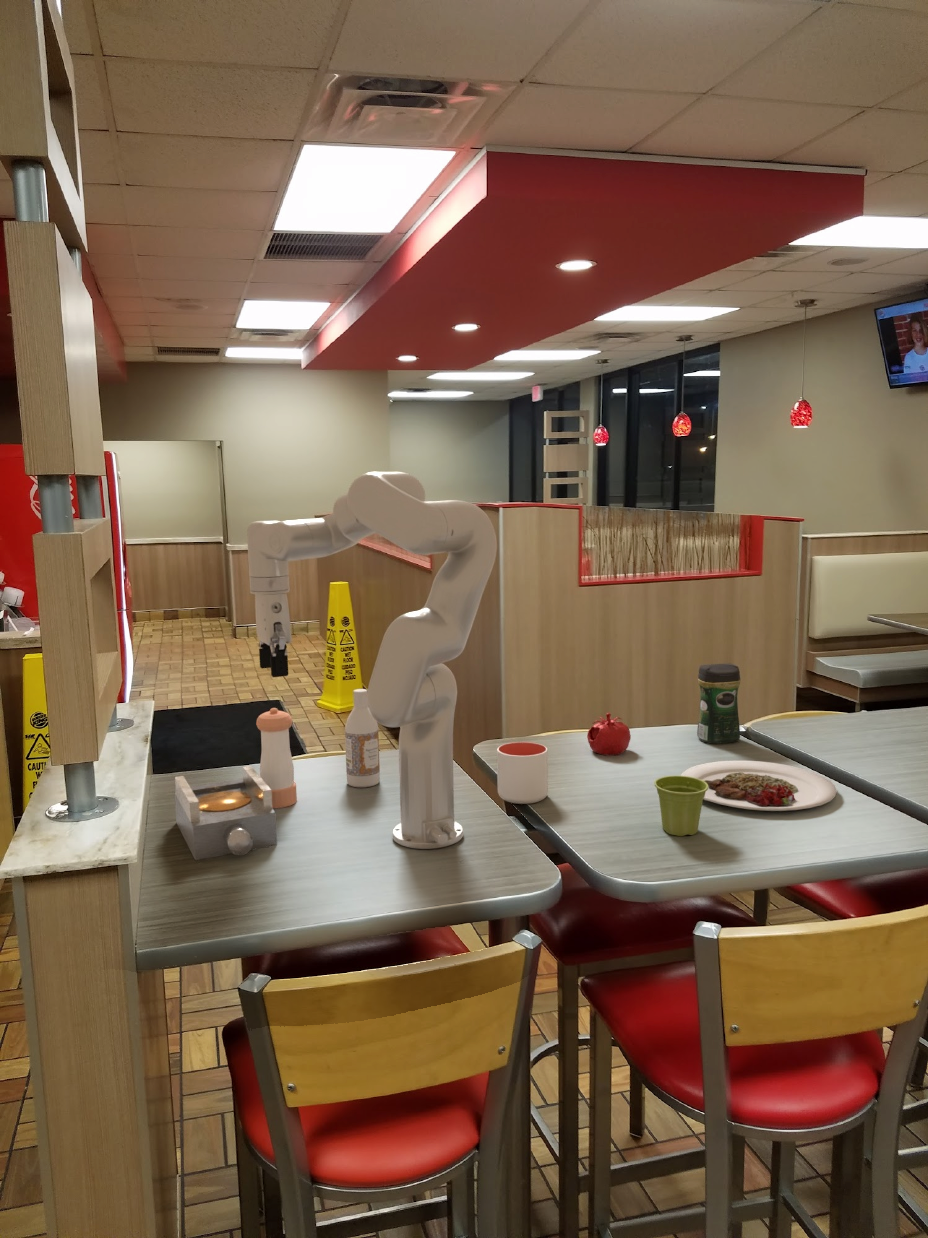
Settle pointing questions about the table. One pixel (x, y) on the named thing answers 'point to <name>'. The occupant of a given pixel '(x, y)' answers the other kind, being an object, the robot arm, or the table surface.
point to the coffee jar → (718, 703)
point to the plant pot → (680, 803)
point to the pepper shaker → (277, 757)
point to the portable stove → (226, 815)
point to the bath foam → (362, 744)
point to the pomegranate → (609, 736)
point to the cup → (522, 772)
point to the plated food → (762, 785)
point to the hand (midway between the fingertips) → (273, 671)
